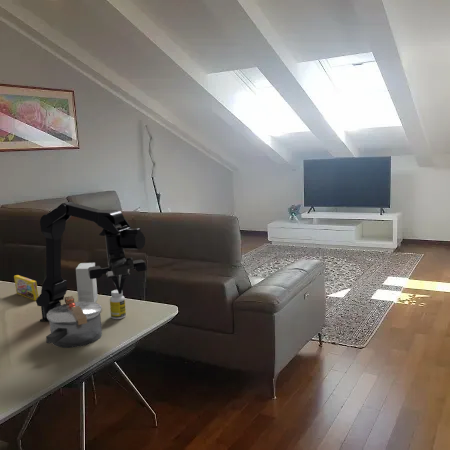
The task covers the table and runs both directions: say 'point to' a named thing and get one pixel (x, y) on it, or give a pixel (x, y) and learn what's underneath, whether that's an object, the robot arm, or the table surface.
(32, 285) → the candy box
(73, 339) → the cooker pot
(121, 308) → the supplement bottle
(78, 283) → the skincare box
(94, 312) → the lid
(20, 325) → the table surface
